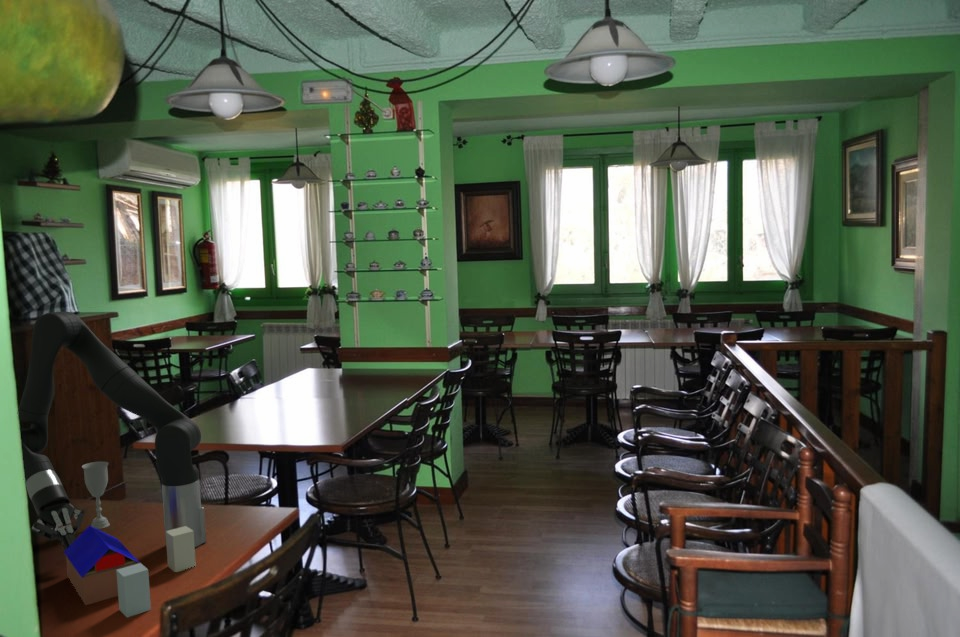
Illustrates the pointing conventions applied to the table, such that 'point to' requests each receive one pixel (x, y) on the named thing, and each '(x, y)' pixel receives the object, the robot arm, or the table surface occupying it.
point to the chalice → (97, 488)
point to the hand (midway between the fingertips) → (72, 549)
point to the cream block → (180, 548)
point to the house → (96, 564)
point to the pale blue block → (133, 590)
